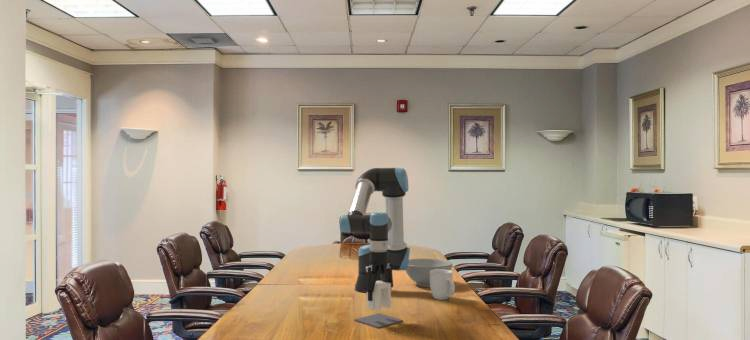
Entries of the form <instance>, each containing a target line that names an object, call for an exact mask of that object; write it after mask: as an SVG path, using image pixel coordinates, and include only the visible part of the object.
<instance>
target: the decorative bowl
mask: <svg viewBox="0 0 750 340" xmlns="http://www.w3.org/2000/svg"><path fill="white" fill-rule="evenodd" d="M453 265H454V263H453V262H452V261H450V260H447V259H440V258H411V259H410V258H409V262H408V267H407V269H406V270H404V271H405V272H406V274H407V275H408V277H409V278H410V280H412V281H413V282H415V284H416V286H418V287H423V288H425V287H426V288H430V270H435V269H443V270H450V271H452V267H453Z"/></svg>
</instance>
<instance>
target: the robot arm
mask: <svg viewBox="0 0 750 340" xmlns="http://www.w3.org/2000/svg"><path fill="white" fill-rule="evenodd" d="M354 188H355V191H354V195H353V198H352V200H351V204H350V206H349V210H348V211H347V214H344V215H341V216H340V217H339V218H340V219H339V230H340V232H342V233H348V234H369V244H365V245H361V246H360V247H359V248H358V255H357V256H358V263H357V264H358V270H357V271H358V275H357V278H356V283H355V285H354V290H355V291H356V292H359V293H366V294H367V292H368V301H369V308H368V309H371V310H374V309H375V293H373V291H374V287H375V283H376V281H382V282H388V283H391V288H394V279H393V278H394V277H393V271H397V272H398V271H405V270H406V269H407V267H408V262H409V260H410V253H411V251H410V250H411V249H410V247H408V243H406V242H405V240H404V239H405V236H404V235H405V234H404V203H403V201H404V200H403V198H404V197H406V194H407V192H409V179H408V173H407V171H406V169H405V168H400V167H374V168H370V169H368V170H366V171H365V172H363V173H362V174H361V175H360V176H359V177H358V178H357V179H356V182H355V186H354ZM374 192H380V193H381V192H382V197H384V199H385V212H372V213H370V215H366V214H367V209H368V206H369V202H370V199H371V195H372V194H373V193H374ZM370 289H371V290H370Z"/></svg>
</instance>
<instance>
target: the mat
mask: <svg viewBox="0 0 750 340" xmlns="http://www.w3.org/2000/svg"><path fill="white" fill-rule="evenodd" d="M353 321H355V322H357V323H360V324H363V325H367V326H369V327H372V328H375V329H380V328H381V329H382V328H385V327H388V326H392V325H396V324H398V323H402V322H404V320H403V319H401V318H398V317H393V316H390V315H387V314H384V313H374V314H371V315H366V316H363V317H362V316H361V317H359V318H355V319H354V320H353Z"/></svg>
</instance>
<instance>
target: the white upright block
mask: <svg viewBox="0 0 750 340" xmlns="http://www.w3.org/2000/svg"><path fill="white" fill-rule="evenodd" d="M370 290H371V289H370ZM373 293H375V309H373V310H374V311H378V312H380V311H381V310H382V308H385V309H391V307H392V306H391V305H392V303H391V302H392V301H391V300H392V299H391V297H392V287H391V283H388V282H382V281H376V283H375V287H374V291H373ZM365 303H366V308H367V309H370V308H369V301H368V292H367V293H366V302H365Z"/></svg>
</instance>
